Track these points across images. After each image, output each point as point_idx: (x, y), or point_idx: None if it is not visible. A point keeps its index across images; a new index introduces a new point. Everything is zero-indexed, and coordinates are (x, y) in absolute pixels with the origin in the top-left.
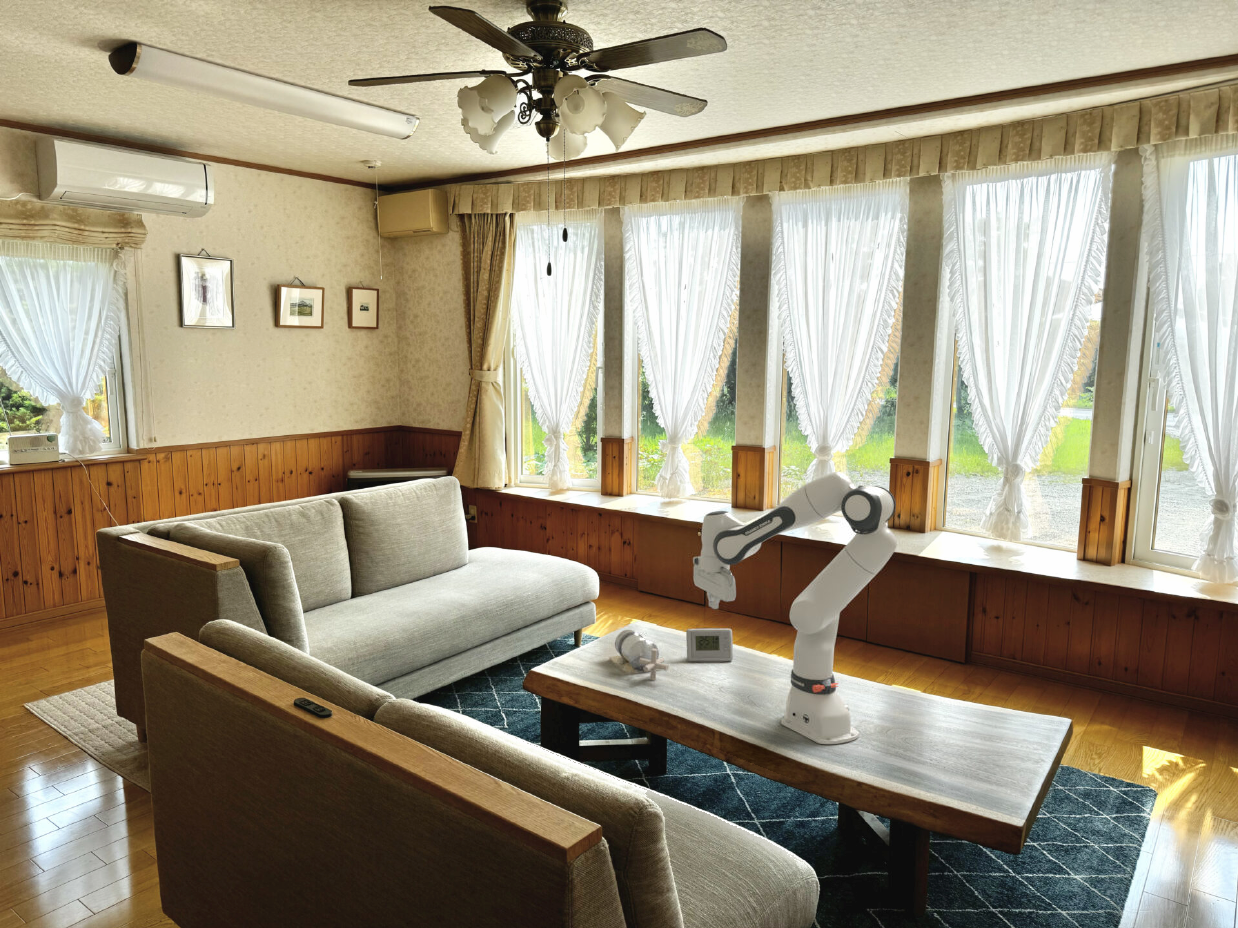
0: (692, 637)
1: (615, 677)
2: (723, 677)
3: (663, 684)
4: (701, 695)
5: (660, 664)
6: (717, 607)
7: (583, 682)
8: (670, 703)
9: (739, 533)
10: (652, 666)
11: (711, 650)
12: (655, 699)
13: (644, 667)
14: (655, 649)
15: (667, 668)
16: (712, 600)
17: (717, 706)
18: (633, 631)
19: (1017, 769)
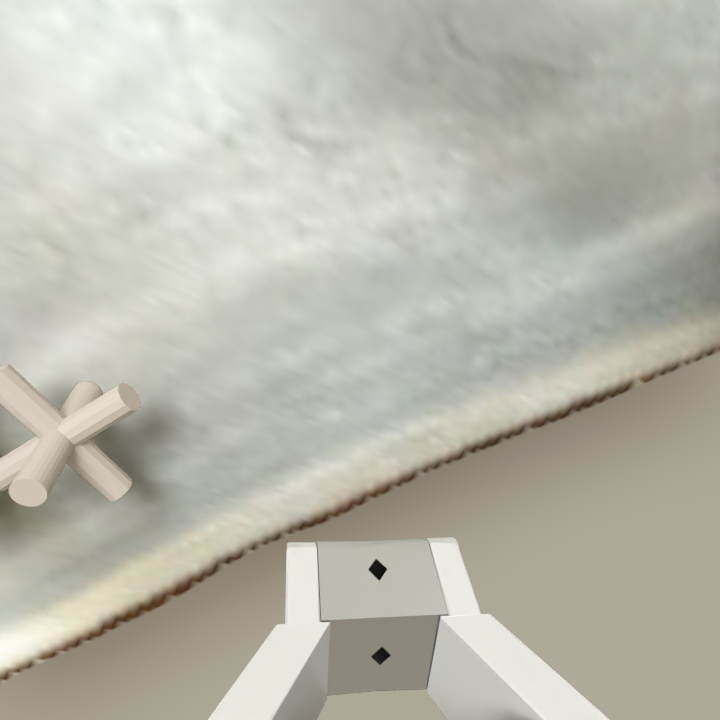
0: None
1: (32, 517)
2: (143, 7)
3: (160, 375)
4: (341, 275)
5: (100, 427)
6: (455, 556)
7: (66, 618)
8: (363, 427)
9: None
10: (99, 457)
11: None
12: (305, 461)
13: (113, 498)
14: (28, 487)
15: (128, 392)
16: (320, 667)
17: (477, 269)
18: None
19: None
